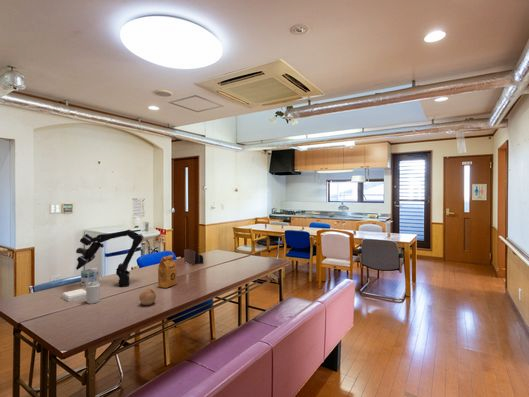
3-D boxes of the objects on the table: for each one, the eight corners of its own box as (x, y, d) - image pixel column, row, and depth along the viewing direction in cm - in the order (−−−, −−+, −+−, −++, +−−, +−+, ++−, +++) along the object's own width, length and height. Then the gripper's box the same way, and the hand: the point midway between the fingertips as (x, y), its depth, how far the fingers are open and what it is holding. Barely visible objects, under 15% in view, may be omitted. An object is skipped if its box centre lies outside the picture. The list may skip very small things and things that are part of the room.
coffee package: (179, 284, 220) (178, 254, 220) (166, 289, 209) (166, 258, 209) (168, 283, 224) (168, 253, 224) (156, 287, 213) (155, 256, 213)
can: (90, 300, 188) (89, 281, 188) (102, 299, 189) (102, 280, 189) (83, 304, 181) (83, 284, 181) (96, 304, 181) (96, 284, 181)
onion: (154, 307, 183) (161, 292, 184) (145, 309, 174) (153, 292, 176) (142, 300, 186) (150, 285, 187) (132, 301, 177) (141, 285, 178)
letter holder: (194, 266, 279) (194, 251, 279) (183, 262, 294) (183, 248, 294) (203, 264, 286) (203, 249, 286) (192, 261, 301) (192, 247, 300)
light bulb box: (88, 286, 218) (88, 271, 218) (80, 285, 219) (80, 270, 219) (99, 281, 228) (99, 267, 228) (91, 281, 230) (91, 267, 230)
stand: (82, 292, 202) (82, 288, 202) (89, 296, 195) (89, 292, 195) (61, 297, 193) (61, 292, 193) (68, 301, 185) (68, 296, 185)
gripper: (87, 241, 221) (74, 259, 220) (77, 245, 203) (62, 264, 201) (101, 249, 223) (87, 267, 222) (92, 254, 205) (77, 273, 203)
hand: (79, 267), depth 212 cm, fingers open, 9 cm apart
